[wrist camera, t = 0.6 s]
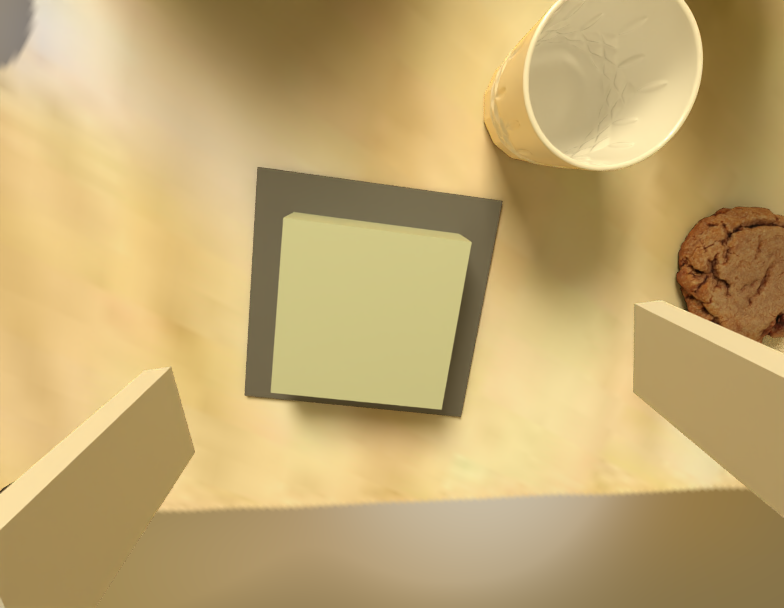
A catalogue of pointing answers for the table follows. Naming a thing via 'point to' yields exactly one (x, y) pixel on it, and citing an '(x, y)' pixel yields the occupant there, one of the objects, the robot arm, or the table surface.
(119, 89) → the table surface
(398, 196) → the mat
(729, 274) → the cookie
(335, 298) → the lid
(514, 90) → the white cup
